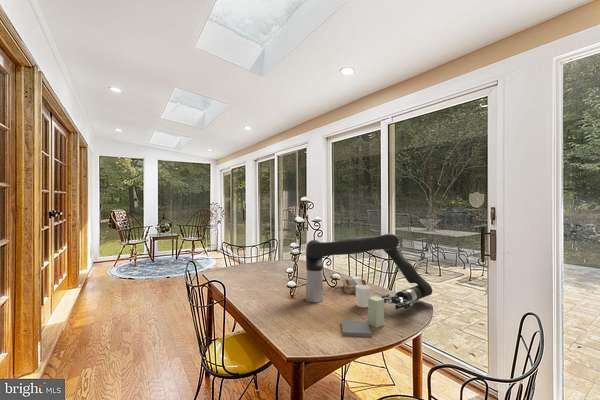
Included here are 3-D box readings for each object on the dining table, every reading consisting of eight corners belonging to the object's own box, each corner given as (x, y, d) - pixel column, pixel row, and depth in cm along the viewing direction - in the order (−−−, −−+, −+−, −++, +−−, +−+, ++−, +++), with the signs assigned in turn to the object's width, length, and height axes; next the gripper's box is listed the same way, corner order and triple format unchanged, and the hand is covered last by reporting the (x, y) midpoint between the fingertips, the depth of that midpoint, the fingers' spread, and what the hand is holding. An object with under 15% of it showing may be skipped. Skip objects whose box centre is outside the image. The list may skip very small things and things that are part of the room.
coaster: (342, 335, 128) (342, 332, 128) (341, 323, 140) (341, 320, 140) (371, 336, 127) (371, 333, 127) (367, 324, 139) (367, 321, 139)
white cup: (367, 309, 157) (367, 290, 157) (353, 306, 161) (353, 287, 161) (372, 304, 164) (372, 286, 164) (358, 301, 168) (358, 283, 168)
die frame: (345, 293, 182) (345, 286, 182) (343, 285, 197) (343, 278, 197) (368, 294, 181) (369, 286, 181) (365, 286, 196) (365, 279, 196)
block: (376, 327, 136) (376, 301, 135) (368, 323, 140) (368, 297, 139) (383, 325, 138) (384, 299, 138) (375, 321, 142) (375, 295, 142)
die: (351, 287, 195) (344, 277, 191) (363, 281, 194) (356, 271, 190) (354, 296, 187) (347, 285, 183) (367, 290, 186) (360, 279, 183)
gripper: (393, 286, 162) (375, 293, 151) (419, 293, 151) (401, 301, 140) (393, 300, 162) (375, 308, 151) (419, 308, 151) (401, 317, 140)
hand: (388, 304), depth 146 cm, fingers open, 8 cm apart
